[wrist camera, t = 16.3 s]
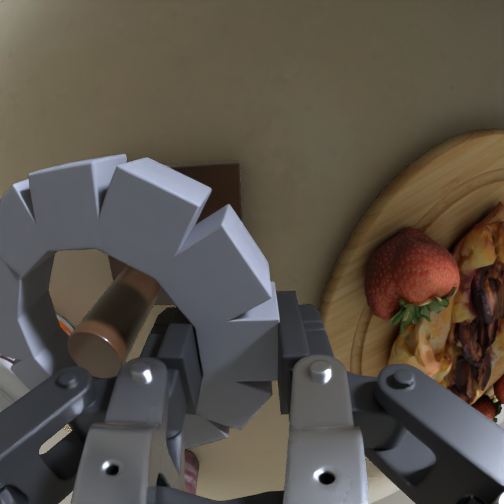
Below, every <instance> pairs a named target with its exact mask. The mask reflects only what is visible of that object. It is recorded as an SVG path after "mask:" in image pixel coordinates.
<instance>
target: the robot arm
mask: <svg viewBox="0 0 504 504" xmlns="http://www.w3.org/2000/svg"><path fill="white" fill-rule="evenodd" d="M276 295H277V303H278V310H279V318H280V322H278V388H279V400H280V412H281V414H289V422H290V424H289V438H288V451H287V463H286V474H285V485H284V491H269V492H265V493H260V494H256V495H251V496H247V497H242V498H237V499H232V500H226V501H215V500H211V499H208V498H204V497H201V496H197V495H194V494H191V493H188V492H187V490H186V486H185V478H184V461H185V429H184V426H183V424H184V419H185V414H193V415H196V411H197V405H198V400H199V394H200V388H201V383H202V367H201V362H200V356H199V350H198V344H197V338H196V332H195V328H194V326H193V325H192V324H191V323H190V322H189V320H188V319H187V318H186V317H185V316H184V314H183V313H182V312H181V311H180V310H179V308H178V307H177V306H176V308H166V309H165V310H164V311H163V312H162V313H160V314H159V315H158V317H157V319H156V321H155V323H154V326H153V328H152V330H151V334H149V336H148V339H147V341H146V343H145V345H144V347H143V350H142V352H141V354H140V356H139V357H138V358H135V359H132V360H130V361H128V362H126V363H125V364H124V365H123V366H122V367H121V368H120V370H119V372H118V375H117V376H116V377H111V378H103V379H96V380H93V379H92V377H91V375H90V373H89V371H88V370H86V369H85V368H83V367H79V366H71V367H66V368H63V369H61V370H59V371H58V372H56V373H55V374H53V375H52V376H50V377H49V378H48V379H46V380H45V381H43V382H42V383H41V384H39V385H38V386H36V387H35V388H34V389H32V390H31V391H29V392H28V393H27V394H25V395H24V396H22V397H21V398H20V399H18V400H17V401H15V402H14V403H13V404H11V405H10V406H9V407H7V408H6V409H4V410H3V411H2V412H0V504H58V503H60V502H61V501H62V500H63V499H64V498H65V497H66V496H68V495H69V494H70V493H71V492H72V491H73V495H72V499H71V504H369V495H368V484H367V473H366V463H365V456H366V457H367V458H368V459H369V460H370V461H371V462H372V463H373V464H374V465H375V466H376V467H377V468H378V469H379V470H380V471H382V472H383V473H384V474H385V475H386V476H387V477H388V478H389V479H390V480H391V481H392V482H393V483H394V484H395V485H396V486H397V487H398V488H399V489H401V490H402V491H403V492H404V493H405V494H406V495H407V496H408V497H409V498H410V499H411V500H412V501H414V502H415V503H416V504H504V429H503V428H502V427H500V426H499V425H498V424H496V423H495V422H493V421H492V420H491V419H489V418H488V417H486V416H485V415H483V414H482V413H481V412H479V411H478V410H476V409H475V408H473V407H472V406H471V405H469V404H468V403H466V402H465V401H463V400H462V399H461V398H459V397H458V396H456V395H455V394H453V393H452V392H451V391H449V390H448V389H446V388H445V387H443V386H442V385H441V384H439V383H438V382H436V381H435V380H433V379H432V378H431V377H429V376H428V375H426V374H425V373H423V372H422V371H421V370H419V369H418V368H416V367H414V366H411V365H408V364H392V365H389V366H386V367H385V368H383V369H382V370H381V371H380V372H379V374H378V377H372V376H363V375H357V374H353V373H350V372H348V371H346V368H345V366H344V365H343V363H342V362H340V361H339V360H338V359H336V358H335V357H334V354H333V351H332V348H331V345H330V342H329V339H328V336H327V333H326V330H325V327H324V324H323V322H322V318H321V315H320V312H319V311H318V310H317V309H316V308H315V307H314V306H312V305H311V304H300V305H299V304H298V300H297V296H296V292H295V291H276ZM67 424H69V426H70V427H71V429H72V432H70V433H69V434H68V435H67V436H66V437H64V438H63V439H62V440H61V441H60V442H58V443H57V444H56V445H55V446H53V447H52V448H51V449H50V450H49V451H47V453H44V454H41V455H40V454H39V449H40V447H41V445H42V444H43V443H44V442H46V441H47V440H48V439H49V438H51V437H52V436H53V435H54V434H56V433H57V432H58V431H59V430H61V429H62V428H63V427H64V426H65V425H67Z"/></svg>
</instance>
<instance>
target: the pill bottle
mask: <svg viewBox="0 0 504 504" xmlns="http://www.w3.org/2000/svg"><path fill="white" fill-rule="evenodd" d="M56 315H57V318H58V321H59V324H60V327H61V328H62V329H63V330H64V331H65V332H66V334H67V335H68V336H69V337H70V335H71V334H72V333H73V331H74V329H73V327H72V326H71V325H70V324H69V323H68V322H67V321H66V320H65V319H64V318H62V317H61V316H59V315H58V314H56ZM16 360H17V359H13V358H9V357H5V356H2V355H1V354H0V412H2V411H3V410H4V409H6V408H7V407H9V406H10V405H11V404H13V403H14V402H15V401H17V400H18V399H20V398H21V397H22V396H24V395H25V394H27V393H28V392H29V391H30V390H29V389H28V388H27V387H26V386H25V385H24V384H23V383H22V382H21V380H20V379H19V378H18V377H17V376H16V375H15V374H14V373H13V372H12V371H11V369H10V368H11V366H12V365H13V364H14V363H15V361H16Z"/></svg>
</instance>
